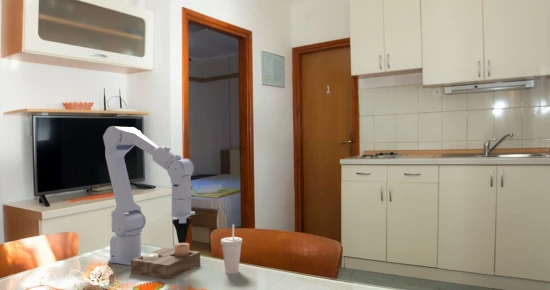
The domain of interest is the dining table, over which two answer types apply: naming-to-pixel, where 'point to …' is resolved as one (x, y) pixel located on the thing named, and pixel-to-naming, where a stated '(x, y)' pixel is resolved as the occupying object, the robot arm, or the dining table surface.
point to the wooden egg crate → (165, 264)
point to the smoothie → (231, 252)
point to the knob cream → (150, 256)
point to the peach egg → (182, 250)
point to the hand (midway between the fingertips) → (182, 242)
